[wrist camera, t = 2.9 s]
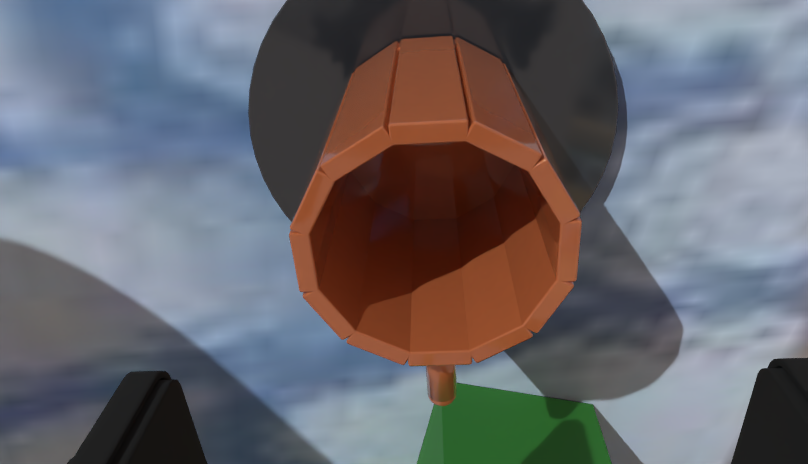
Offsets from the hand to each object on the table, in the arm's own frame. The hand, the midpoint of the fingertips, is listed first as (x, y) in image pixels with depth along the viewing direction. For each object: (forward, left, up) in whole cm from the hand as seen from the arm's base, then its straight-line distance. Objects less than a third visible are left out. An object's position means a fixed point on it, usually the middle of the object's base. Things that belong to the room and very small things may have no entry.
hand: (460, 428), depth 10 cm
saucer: (0, 0, -14) cm, 14 cm away
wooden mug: (+1, -1, -13) cm, 13 cm away
